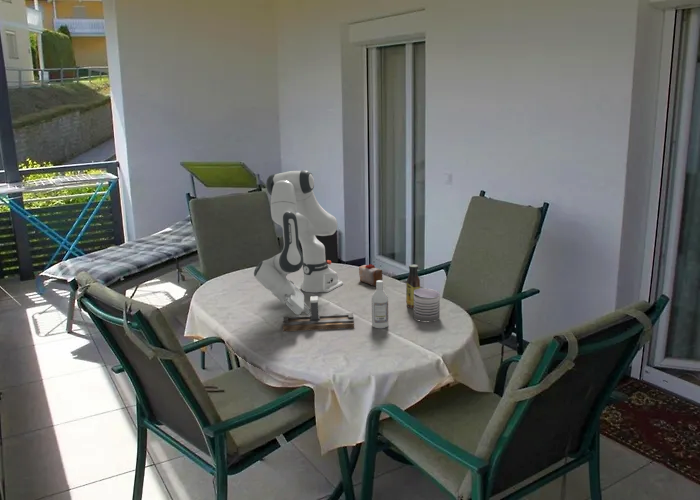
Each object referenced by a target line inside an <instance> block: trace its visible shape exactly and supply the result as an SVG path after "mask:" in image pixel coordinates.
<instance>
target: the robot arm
mask: <svg viewBox="0 0 700 500" xmlns="http://www.w3.org/2000/svg"><path fill="white" fill-rule="evenodd" d="M265 184H266V190H267V192H268V194H269V195H270V196H271V197H270V215H271V219H272V221H273V222H274V224H276V225H279V226H280V227H281V229H282V235H283V236H282V237H283V238H282V239H283V249H282V250H281V252H279V253H277V254H275V255H273V256H272V257H269V258H268V259H265V260H261V261H259V263H258V264H257V265H256V266H255V269H254V272H253V276H254V278H255V279H256V281H257V282H259V284H261V286H262V287H264V289H267V290H268V291H269V292H271V294H272V295H273V296H274V297H276V298H277V299H278V300H279V301H280V302H281V303H283V302H285V304H286V306H287V308H289V309H290V310H291V311H292V312H293V313H294V314H295V315H296V316H301V314H302V313H303V312H304V313H305V314H306V315H311V307H310V306H308V304H306V302H305V295H304V293H303V292H307V293H329V292H331V291H332V290H335V289H337V288H338V287H341V286H342V285H343V284H344V282H343V281H342V280H340V279H339V275H338V272H336V271H335V270H333V269H332V268H330V267H329V265H332V261H331V260H329V259H327V260H326V247H325V245H324V243H322V242H321V241H320V240H319V239H318V238H317V236H320V237H327V236H332V235H334V234H335V233H336V232H337V229H338V220H337V218H336V216H334V215H333V214H331V213H330V212H328V211H326V210H325V209H324V208H323V207H322V205H320V203H319V201H318V200H317V197H316V195H315V192H314V187H315V179H314V174H313V173H311V171H309V170H306V169H305V170H304V169H301V170H291V171H290V170H289V171H284V172H280V173H273V174H271V175H269V176H268V178H267V179H266V183H265ZM300 245H301V248H302V249H301V248H300ZM301 250H302V251H301ZM301 269H302V282H301V287H300V288H301V290H302V291H303V292H302V291H301V290H300V289H299V287H297V286H296V285H295V282H294V281H292V280H291V279H290V280H289V279H288V278H287V276H288V275H289V274H291V273H296V272H298V271H300V270H301Z"/></svg>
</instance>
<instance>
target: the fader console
mask: <svg viewBox="0 0 700 500" xmlns="http://www.w3.org/2000/svg"><path fill="white" fill-rule="evenodd" d="M318 315H319V316H320V320H319V321H310V316H311V314H305V315H304V314H303V315H287V316H286V315H284V316H283V317H282V318H283V319H282V329H283V330H282V332H298V331H317V330H319V331H321V330H320V329H324V330H339V329H338V328H345V329H355V320H354V313H353V312H352V313H351V312H350V313H332V314H331V313H330V314H329V313H327V314H318Z"/></svg>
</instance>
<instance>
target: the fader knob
mask: <svg viewBox="0 0 700 500" xmlns="http://www.w3.org/2000/svg"><path fill="white" fill-rule="evenodd" d="M309 300H310V309H311V313H310V315H311V316H310V321H319V320H320V316H319V315H320V314H319V296H318V295H315V296H310V299H309Z"/></svg>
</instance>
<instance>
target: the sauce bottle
mask: <svg viewBox="0 0 700 500" xmlns="http://www.w3.org/2000/svg"><path fill="white" fill-rule="evenodd" d="M408 270H409V273H408V276H407V278H406V287H405V288H406V290H405V291H406V295H405V298H406V299H405V301H406V307H407V308H409V309H414V290H416V289H420V288H421V279H420V276H419V275H418V274H419V273H418V270H419V265H418V264H409V265H408Z"/></svg>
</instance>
